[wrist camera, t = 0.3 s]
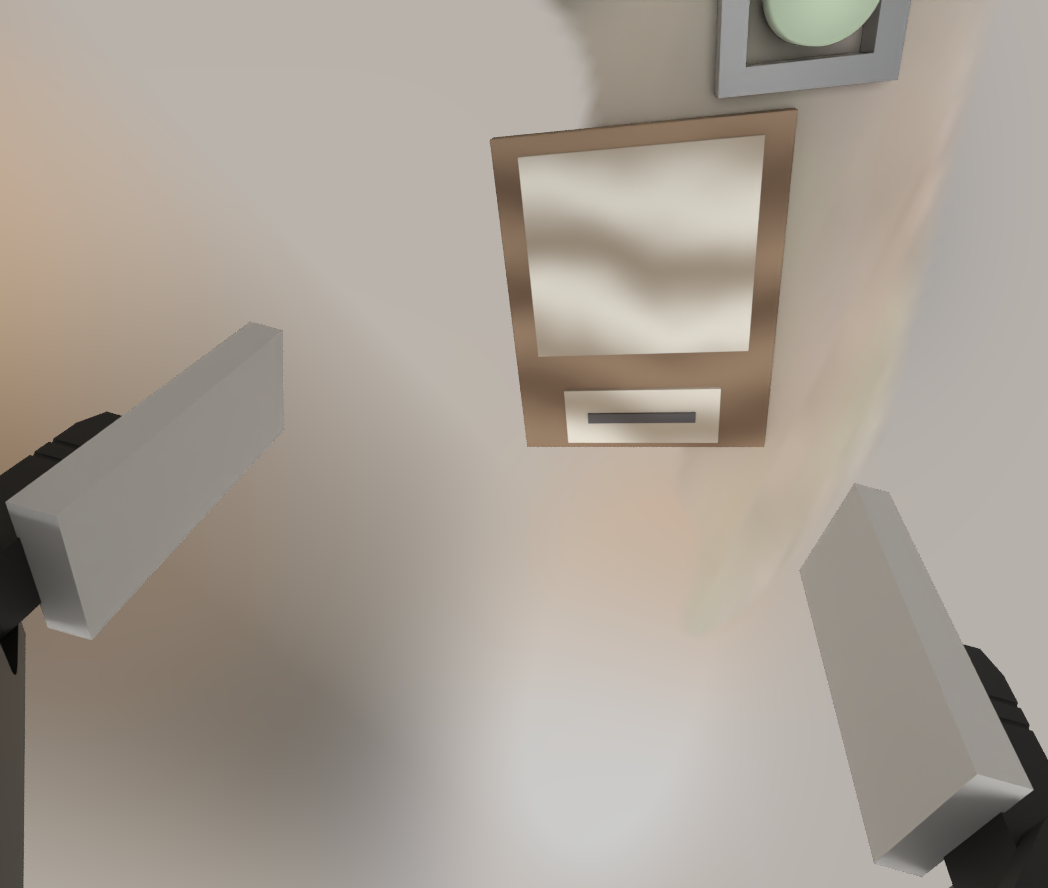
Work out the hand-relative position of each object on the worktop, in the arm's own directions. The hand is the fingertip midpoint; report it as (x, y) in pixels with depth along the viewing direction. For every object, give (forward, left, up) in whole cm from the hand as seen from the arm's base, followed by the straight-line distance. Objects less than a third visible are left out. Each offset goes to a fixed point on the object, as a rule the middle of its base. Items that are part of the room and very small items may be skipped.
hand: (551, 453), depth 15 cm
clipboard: (+6, +1, -27) cm, 28 cm away
